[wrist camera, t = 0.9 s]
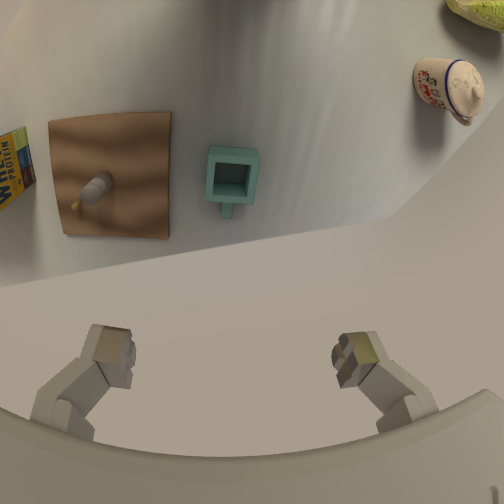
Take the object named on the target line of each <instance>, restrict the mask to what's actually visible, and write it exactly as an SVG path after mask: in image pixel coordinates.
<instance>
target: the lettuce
mask: <svg viewBox="0 0 504 504" xmlns="http://www.w3.org/2000/svg"><path fill="white" fill-rule="evenodd" d="M446 3H447V5H448V7H449V8H450V9H451V10H452V11H453V12H454V13H456V14H458V15H460V16H462V17H464V18H466V19H467V20H469V21H471V22H473V23H475V24H477V25H479V26H482V27H485V28H489V29H493V30H496V31H499V32H502V33H504V0H446Z"/></svg>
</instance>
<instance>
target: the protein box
mask: <svg viewBox="0 0 504 504" xmlns="http://www.w3.org/2000/svg"><path fill="white" fill-rule="evenodd" d="M35 181H36V178H35V174H34V170H33V166H32V161H31V156H30V151H29V145H28V140H27V134H26V127H25V126H24V127H22V128H19V129H17V130H14V131H12V132H9V133H7V134H4V135H2V136H0V211H1V210H2V209H4V208H5V207H6V206H7V205H8V204H9V203H10V202H11V201H13V200H14V199H15V198H16V197H17V196H18V195H20V194H21V193H22V192H23V191H24V190H25V189H27V188H28V187H29V186H30V185H32V184H33V183H34V182H35Z"/></svg>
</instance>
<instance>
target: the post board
mask: <svg viewBox="0 0 504 504" xmlns="http://www.w3.org/2000/svg"><path fill="white" fill-rule="evenodd" d="M171 117H172V112H132V113H113V114H100V115H90V116H81V117H73V118H65V119H59V120H52V121H50V122H48V130H49V145H50V156H51V165H52V173H53V180H54V187H55V193H56V199H57V204H58V209H59V214H60V219H61V224H62V228H63V232H64V234H78V235H99V236H118V237H137V238H155V239H169V157H170V134H171Z"/></svg>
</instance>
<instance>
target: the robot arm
mask: <svg viewBox="0 0 504 504" xmlns="http://www.w3.org/2000/svg"><path fill="white" fill-rule="evenodd" d="M131 337H132V334H131V330H130V329H123V328H116V327H109V326H104V325H97V324H93V325H92V326H91V327H90V330H89V332H88V335H87V338H86V341H85V344H84V346H83V350H82V352H81V356H80V358H75V359H74V360H73V361H72V362H71V363H69V364H68V365H67V366H66V367H65V368H64V369H63V370H61V371H60V372H59V373H58V374H56V375H55V376H54V377H53V378H52V379H51V380H50V381H48V382H47V383H46V384H45V385H44V386H43V387H41V388H40V389H39V390H38V392H37V395H36V398H35V401H34V405H33V408H32V412H31V416H30V420H27V419H25V418H23V417H20V416H18V415H16V414H14V413H12V412H9V411H7V410H5V409H3V408H1V407H0V504H504V400H502V399H501V398H500V397H499V396H498V395H496V394H495V393H494V392H492V391H490V390H488V389H483V390H481V391H479V392H477V393H475V394H474V395H472V396H470V397H468V398H466V399H464V400H462V401H460V402H458V403H457V404H454V405H452V406H450V407H448V408H446V409H444V410H441V411H439V410H438V407H437V405H436V403H435V400H434V398H433V396H432V394H431V392H430V389H429V388H428V387H427V386H425V385H424V384H423V383H422V382H420V381H419V380H418V379H416V378H415V377H414V376H413V375H411V374H410V373H409V372H407V371H406V370H405V369H404V368H402V367H401V366H400V365H398V364H397V363H396V362H394V361H393V360H390V359H389V357H388V355H387V353H386V351H385V349H384V347H383V345H382V343H381V341H380V339H379V337H378V334H377V333H376V332H375V331H367V332H354V333H343V334H342V335H340V337H339V343H338V344H337V345H335V346H334V348H333V350H332V355H331V358H332V363H333V367H334V368H336V369H337V370H338V373H337V375H336V376H337V379H338V382H339V385H340V388H348V387H356V386H358V388H359V389H360V390H361V391H362V392H363V393H364V394H365V395H366V396H367V397H368V398H369V399H370V400H371V401H372V403H373V404H374V405H375V406H376V407H377V408H378V409H379V410H380V411H381V412H382V413H383V414H384V415H383V416H382V417H381V418H380V419H379V420H377V422H376V426H377V429H378V432H379V434H377V435H373V436H370V437H366V438H363V439H359V440H355V441H351V442H346V443H342V444H338V445H333V446H328V447H323V448H317V449H311V450H305V451H298V452H291V453H283V454H273V455H261V456H242V457H199V456H182V455H169V454H160V453H152V452H145V451H138V450H132V449H126V448H121V447H116V446H111V445H107V444H102V443H98V442H94V441H93V437H94V430H95V429H94V428H93V426H92V425H91V424H90V423H89V422H88V421H87V420H86V419H85V416H86V415H87V414H88V413H89V412H90V411H91V409H92V408H93V407H94V406H95V405H96V404H97V402H98V401H99V400H100V399H101V398H102V397H103V395H104V394H105V393H106V392H107V390H109V388H110V387H117V388H124V389H130V386H131V381H132V376H133V374H132V372H131V368H132V367H133V366H134V365H135V359H136V348H135V343H134V342H133V341H132V340H131ZM109 386H110V387H109Z"/></svg>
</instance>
